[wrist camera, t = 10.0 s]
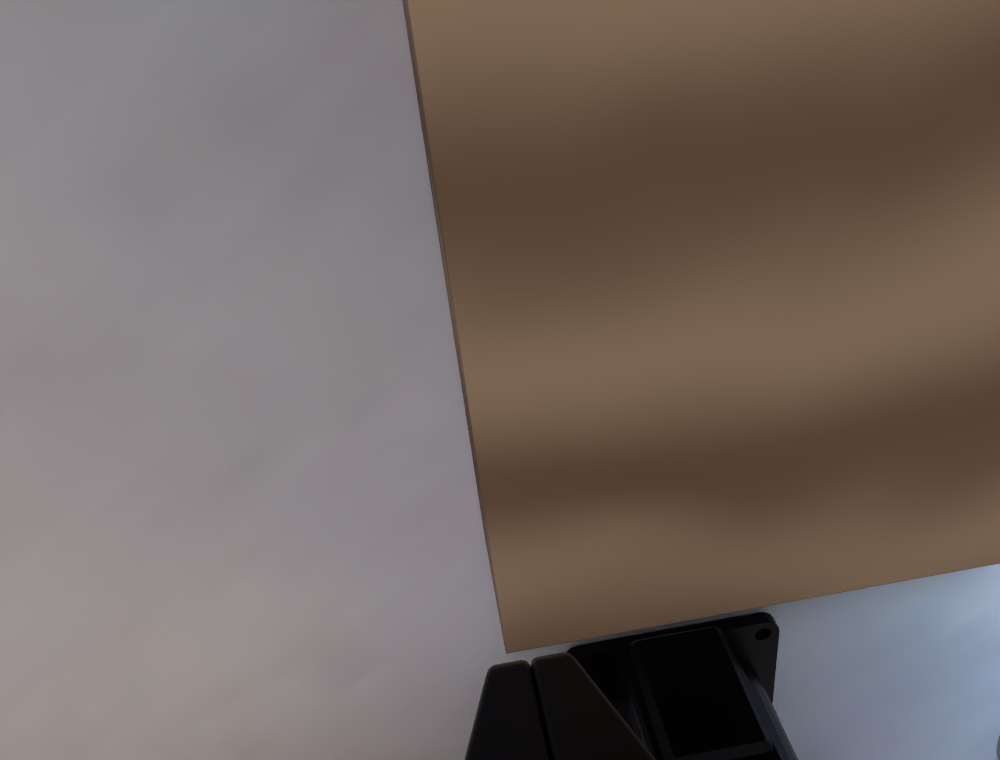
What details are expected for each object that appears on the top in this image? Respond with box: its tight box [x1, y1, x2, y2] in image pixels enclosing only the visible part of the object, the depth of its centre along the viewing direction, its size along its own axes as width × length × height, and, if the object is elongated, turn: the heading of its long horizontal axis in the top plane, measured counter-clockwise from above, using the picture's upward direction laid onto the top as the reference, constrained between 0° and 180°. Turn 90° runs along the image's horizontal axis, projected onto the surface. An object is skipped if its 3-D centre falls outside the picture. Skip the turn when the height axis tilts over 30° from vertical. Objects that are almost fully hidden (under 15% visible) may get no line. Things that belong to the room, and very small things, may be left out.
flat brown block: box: [402, 0, 1000, 653], centre depth 17 cm, size 22×14×4 cm, turn 6°
